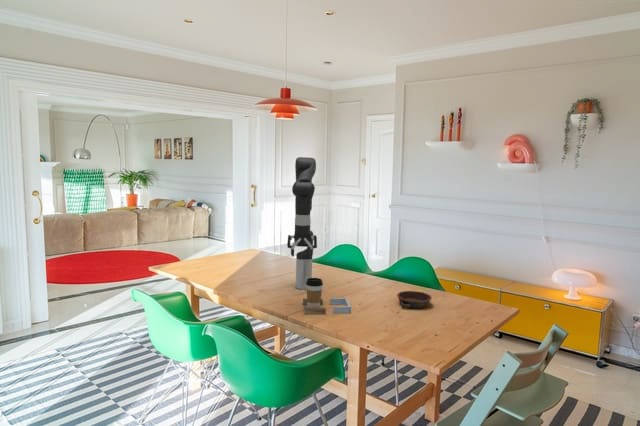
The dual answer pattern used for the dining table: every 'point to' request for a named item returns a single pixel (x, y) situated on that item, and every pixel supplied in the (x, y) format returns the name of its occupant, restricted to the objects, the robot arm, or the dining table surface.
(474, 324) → the dining table surface
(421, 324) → the dining table surface
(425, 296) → the dish
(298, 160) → the robot arm
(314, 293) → the coffee cup
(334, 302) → the corral
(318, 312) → the clamp blocks
